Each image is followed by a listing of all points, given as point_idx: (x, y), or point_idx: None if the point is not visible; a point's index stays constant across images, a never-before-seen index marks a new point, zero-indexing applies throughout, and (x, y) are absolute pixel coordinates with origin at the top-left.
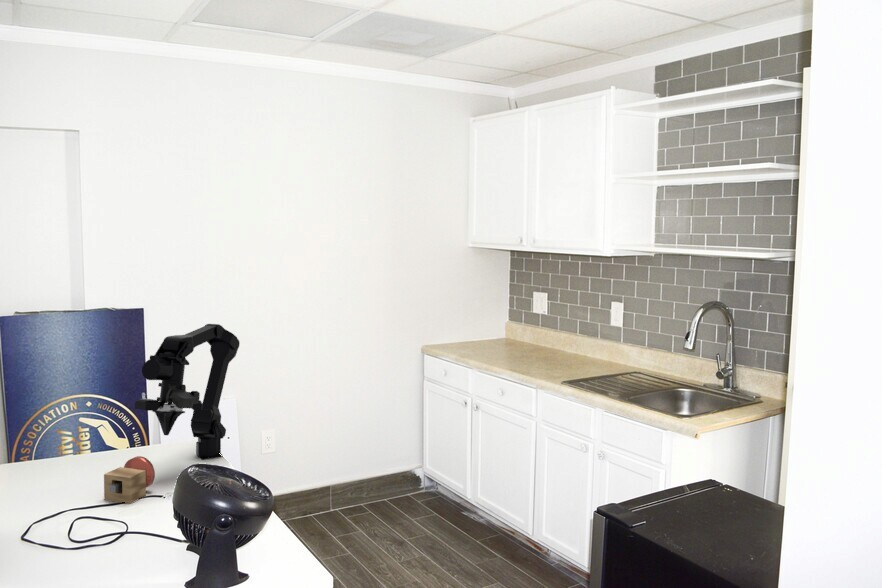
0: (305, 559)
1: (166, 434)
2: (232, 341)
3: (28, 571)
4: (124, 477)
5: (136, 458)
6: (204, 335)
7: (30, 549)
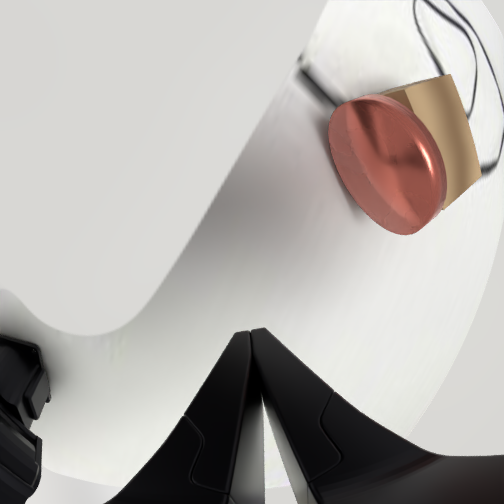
0: None
1: (261, 330)
2: None
3: (495, 31)
4: (457, 96)
5: (443, 163)
6: None
7: (500, 76)
